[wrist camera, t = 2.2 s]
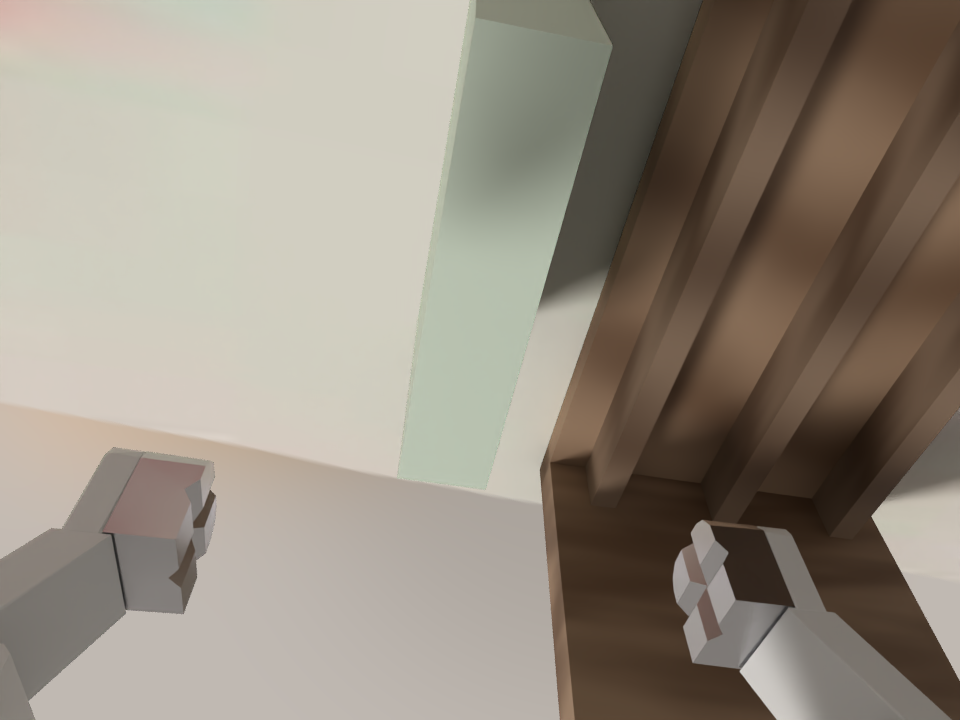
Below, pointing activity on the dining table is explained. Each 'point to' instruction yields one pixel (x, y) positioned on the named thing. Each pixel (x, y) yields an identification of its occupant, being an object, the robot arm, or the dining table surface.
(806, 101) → the wooden book rack
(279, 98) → the dining table surface
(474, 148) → the pale green rectangular block
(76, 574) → the robot arm
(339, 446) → the dining table surface
